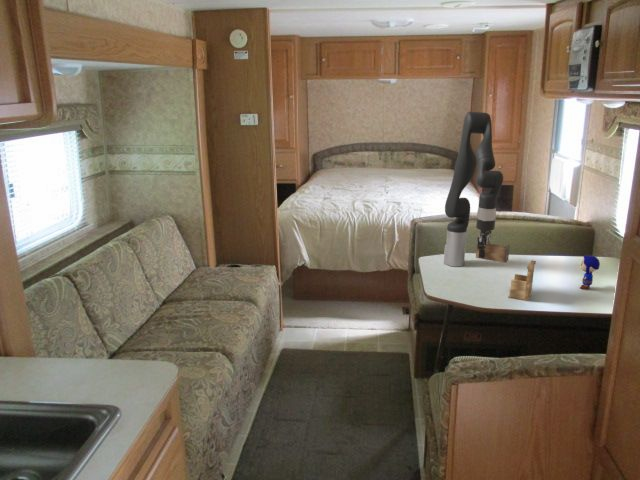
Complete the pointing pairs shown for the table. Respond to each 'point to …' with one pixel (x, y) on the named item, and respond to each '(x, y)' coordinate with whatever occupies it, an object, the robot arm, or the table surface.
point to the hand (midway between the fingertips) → (482, 256)
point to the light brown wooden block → (495, 252)
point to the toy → (589, 270)
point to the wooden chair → (522, 284)
